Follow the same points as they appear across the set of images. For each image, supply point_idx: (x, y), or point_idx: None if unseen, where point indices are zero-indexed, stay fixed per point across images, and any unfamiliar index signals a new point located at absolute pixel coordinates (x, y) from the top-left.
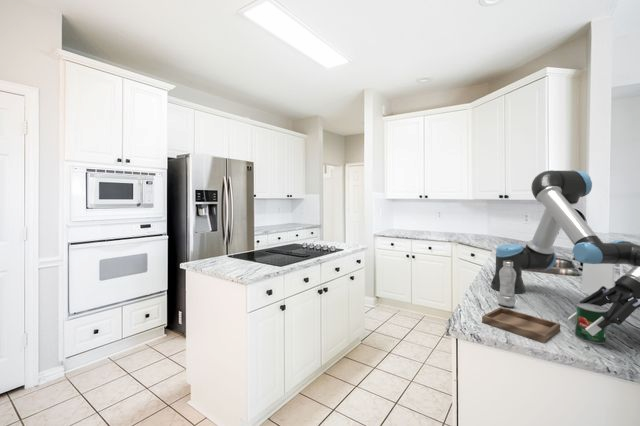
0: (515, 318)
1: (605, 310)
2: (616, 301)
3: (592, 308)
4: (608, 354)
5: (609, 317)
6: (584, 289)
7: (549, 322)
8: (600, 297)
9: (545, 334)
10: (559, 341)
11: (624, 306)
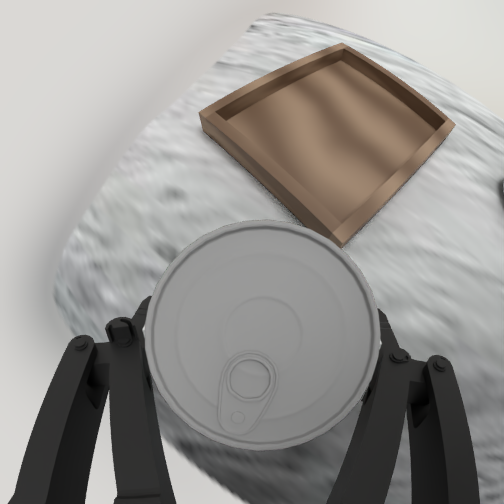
0: (401, 141)
1: (198, 410)
2: (119, 501)
3: (247, 328)
4: (121, 296)
5: (111, 348)
6: None
7: (358, 209)
8: (371, 497)
9: (210, 118)
10: (220, 184)
11: (42, 458)
